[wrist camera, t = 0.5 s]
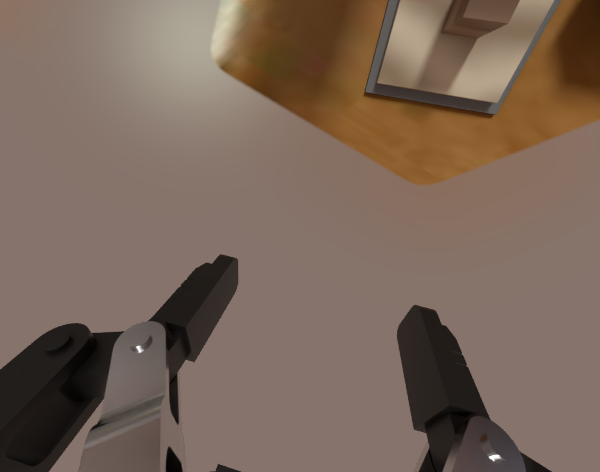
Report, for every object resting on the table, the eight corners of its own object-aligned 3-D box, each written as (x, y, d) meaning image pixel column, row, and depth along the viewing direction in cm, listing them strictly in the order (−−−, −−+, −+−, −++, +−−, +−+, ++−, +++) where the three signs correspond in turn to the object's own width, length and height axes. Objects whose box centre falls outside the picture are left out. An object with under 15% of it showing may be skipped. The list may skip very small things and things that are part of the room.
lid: (428, -103, 18) (457, -179, 13) (595, -88, 17) (695, -163, 12) (376, 83, 26) (382, 79, 20) (492, 102, 24) (528, 103, 19)
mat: (420, -121, 18) (421, -125, 18) (616, -103, 17) (621, -108, 17) (365, 92, 26) (365, 92, 26) (494, 114, 25) (495, 114, 25)
